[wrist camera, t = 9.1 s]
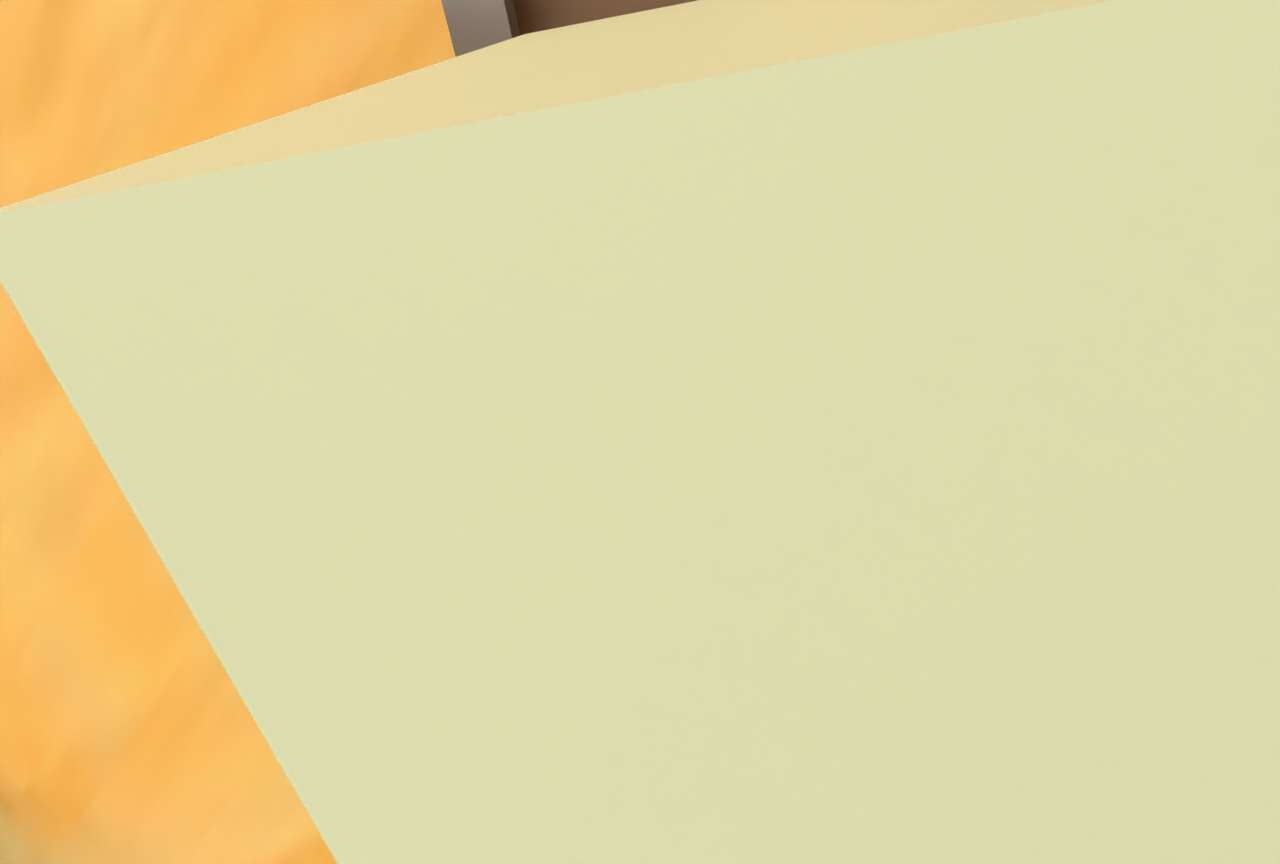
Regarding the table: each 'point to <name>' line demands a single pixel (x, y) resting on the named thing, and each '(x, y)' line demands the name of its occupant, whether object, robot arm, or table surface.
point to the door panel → (725, 432)
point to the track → (529, 17)
